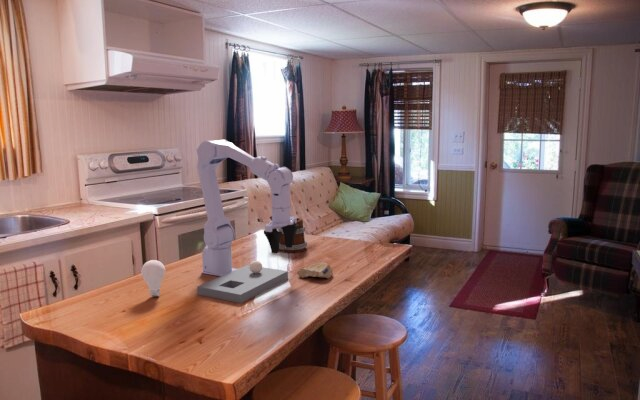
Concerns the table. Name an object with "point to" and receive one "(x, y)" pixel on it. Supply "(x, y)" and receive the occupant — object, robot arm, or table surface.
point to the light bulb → (153, 276)
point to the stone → (316, 270)
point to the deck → (242, 284)
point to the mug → (298, 242)
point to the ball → (255, 267)
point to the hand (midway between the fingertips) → (282, 249)
